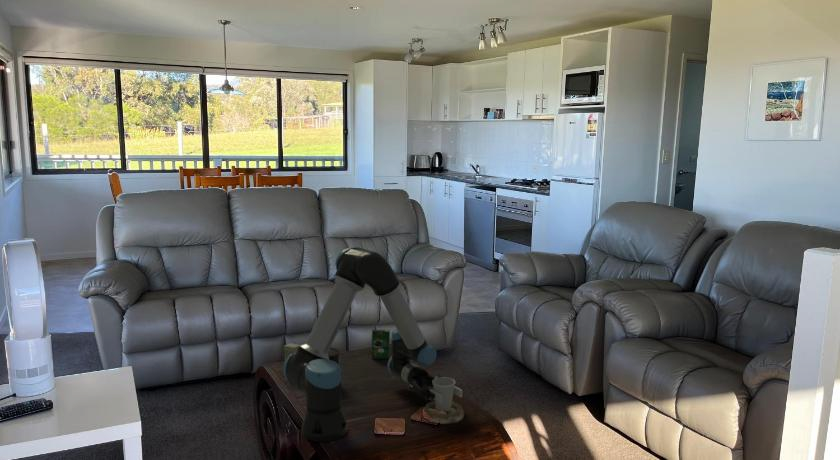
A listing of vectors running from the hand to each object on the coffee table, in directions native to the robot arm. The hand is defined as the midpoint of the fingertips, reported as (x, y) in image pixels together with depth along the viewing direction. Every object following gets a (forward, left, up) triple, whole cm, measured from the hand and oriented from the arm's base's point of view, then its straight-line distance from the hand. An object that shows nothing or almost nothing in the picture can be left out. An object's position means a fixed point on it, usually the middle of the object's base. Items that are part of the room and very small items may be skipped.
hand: (451, 396), depth 210 cm
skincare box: (-29, +72, -9) cm, 78 cm away
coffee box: (+11, +67, -9) cm, 68 cm away
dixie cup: (0, +5, -6) cm, 8 cm away
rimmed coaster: (0, +5, -8) cm, 10 cm away
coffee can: (-23, +52, -9) cm, 57 cm away
